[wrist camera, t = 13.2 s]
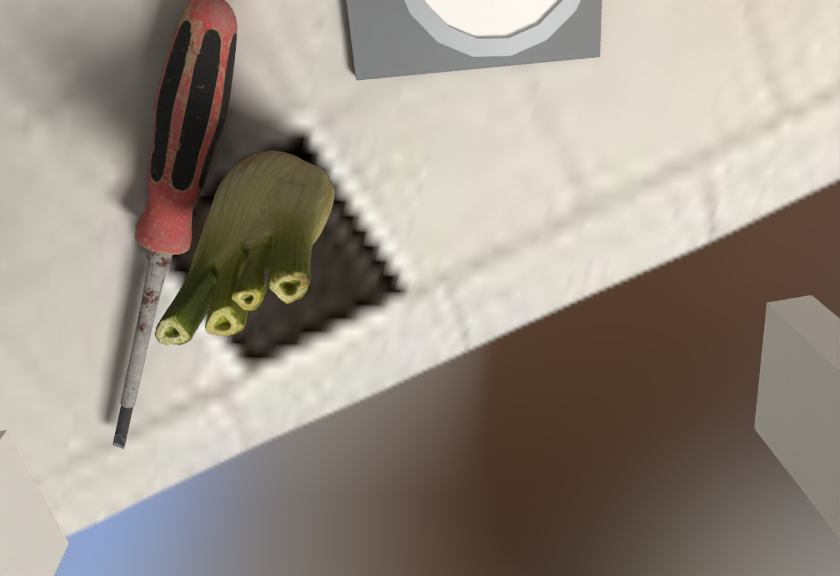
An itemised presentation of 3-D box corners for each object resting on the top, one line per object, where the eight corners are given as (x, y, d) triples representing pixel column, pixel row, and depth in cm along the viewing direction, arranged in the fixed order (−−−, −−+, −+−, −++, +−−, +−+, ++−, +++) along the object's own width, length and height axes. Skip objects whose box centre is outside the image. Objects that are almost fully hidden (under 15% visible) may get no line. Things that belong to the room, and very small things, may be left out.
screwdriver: (152, 435, 41) (137, 471, 38) (100, 423, 40) (80, 458, 38) (256, 5, 31) (245, 12, 28) (188, -20, 30) (170, -15, 27)
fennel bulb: (219, 233, 35) (150, 366, 25) (214, 136, 33) (135, 236, 22) (336, 239, 36) (317, 372, 25) (338, 144, 33) (319, 246, 23)
